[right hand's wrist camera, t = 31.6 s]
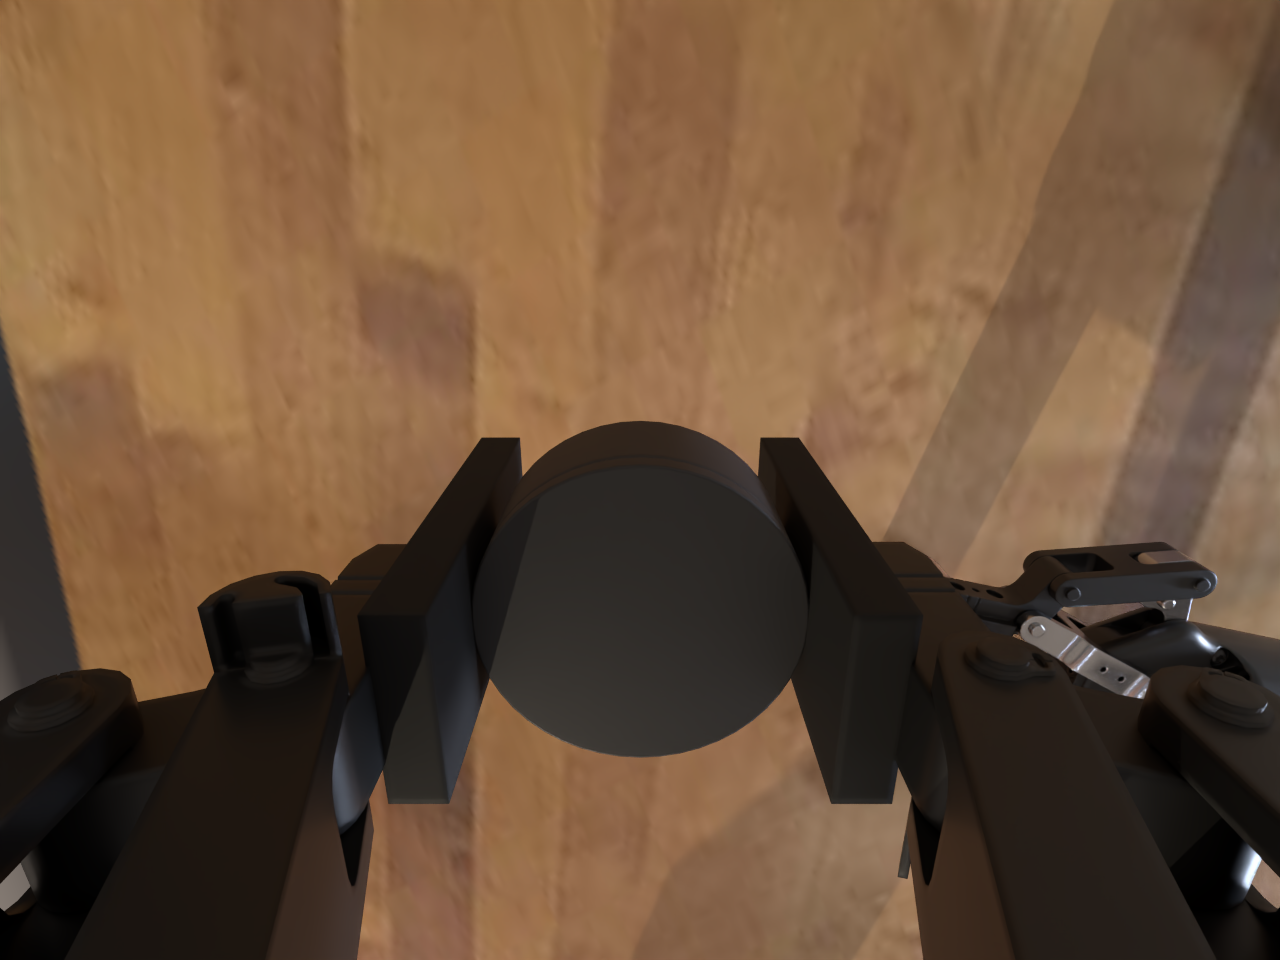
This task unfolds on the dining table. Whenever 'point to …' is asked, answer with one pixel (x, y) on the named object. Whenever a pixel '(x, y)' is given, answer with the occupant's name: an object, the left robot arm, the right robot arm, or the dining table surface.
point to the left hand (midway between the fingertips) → (893, 653)
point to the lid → (640, 593)
